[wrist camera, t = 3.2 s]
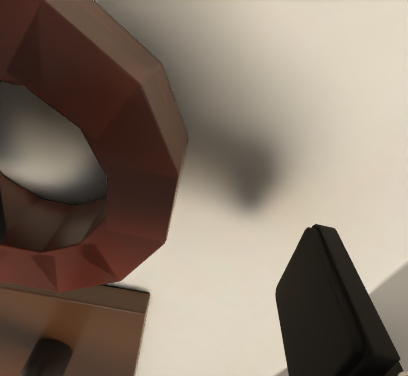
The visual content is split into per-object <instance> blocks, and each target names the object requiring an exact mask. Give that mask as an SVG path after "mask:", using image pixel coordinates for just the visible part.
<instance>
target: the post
mask: <svg viewBox="0 0 408 376" xmlns="http://www.w3.org/2000/svg"><path fill="white" fill-rule="evenodd" d="M149 300H150V294H147V293H142V292H136V291H131V290H126V289H120V288H115V287H109V286H104V285H98V286H93V287H87V288H82V289H77V290H71V291H66V292H61V293H60V292H55V291H49V290H44V289H38V288H33V287H27V286H22V285H16V284H11V283H5V282H0V376H135V374H136V369H137V364H138V358H139V353H140V348H141V342H142V337H143V332H144V326H145V321H146V316H147V310H148V305H149Z"/></svg>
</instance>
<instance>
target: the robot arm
mask: <svg viewBox="0 0 408 376" xmlns="http://www.w3.org/2000/svg"><path fill="white" fill-rule="evenodd" d="M6 232H7V229H6V222H5V215H4V209H3V202H2V196H1V189H0V244H1V243H2V242H3V240H4V238H5V236H6ZM276 303H277V309H278V315H279V320H280V326H281V332H282V338H283V344H284V350H285V355H286V361H287V367H288V373H289V376H408V370H406V371H403V369H402V367H401V365H400V363H399V360H400V357H399V355H398V353H397V351H396V349H395V347H394V345H393V343H392V341H391V339H390V337H389V335H388V333H387V331H386V329H385V327H384V325H383V323H382V321H381V319H380V317H379V315H378V313H377V311H376V309H375V307H374V305H373V303H372V301H371V299H370V297H369V295H368V293H367V291H366V289H365V287H364V285H363V283H362V281H361V279H360V277H359V275H358V273H357V271H356V269H355V267H354V265H353V263H352V261H351V259H350V257H349V255H348V253H347V251H346V249H345V247H344V245H343V243H342V241H341V239H340V237H339V235H338V233H337V231H336V229H334V228H331V227H327V226H322V225H318V224H315V225H313V226H312V228H309V227H308V228H307V229H306V230H305V231H304V233H303V235H302V237H301V239H300V241H299V243H298V245H297V247H296V249H295V251H294V253H293V255H292V257H291V259H290V261H289V263H288V265H287V267H286V269H285V271H284V273H283V275H282V277H281V279H280V281H279V283H278V285H277V288H276Z"/></svg>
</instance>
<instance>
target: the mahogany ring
mask: <svg viewBox="0 0 408 376" xmlns="http://www.w3.org/2000/svg"><path fill="white" fill-rule="evenodd" d="M0 81H3V82H7V83H12V84H16V85H20V86H24V87H26V88H27V89H28V90H30V91H31V92H32V93H34V94H35V95H36V96H38V97H39V98H40V99H42V100H43V101H44V102H46V103H47V104H48V105H50V106H51V107H52V108H54V109H55V110H56V111H58V112H59V113H60V114H62V115H63V116H64V117H66V118H67V119H68V120H70V121H71V122H72V123H74V124H75V125H76V126H78V127H79V128H80V129H81V131H82V133H83V135H84V137H85V138H86V140H87V142H88V144H89V146H90V147H91V149H92V151H93V153H94V155H95V156H96V158H97V160H98V162H99V164H100V165H101V167H102V169H103V171H104V173H105V174H106V176H107V187H106V198H103V199H99V200H95V201H91V202H87V203H83V204H79V205H75V206H74V205H69V204H64V203H59V202H54V201H49V200H44V199H39V198H37V197H36V196H34V195H33V194H31V193H30V192H28V191H26V190H25V189H23V188H22V187H20V186H18V185H17V184H15V183H14V182H12V181H11V180H9V179H7V178H6V177H4V176H3V175H2V174H1V173H0V189H1V196H2V202H3V209H4V215H5V222H6V229H7V232H6V236H5V238H4V240H3V242H2V243H1V244H0V282H5V283H11V284H16V285H22V286H27V287H33V288H38V289H44V290H49V291H55V292H60V293H61V292H66V291H71V290H77V289H82V288H87V287H93V286H98V285H103V284H108V283H114V282H119V281H121V280H123V279H124V278H125V277H126V276H127V275H129V274H130V273H131V272H132V271H133V270H134V269H135V268H137V267H138V266H139V265H140V264H141V263H142V262H144V261H145V260H146V259H147V258H148V257H149V256H151V255H152V254H153V253H154V252H155V251H156V250H158V249H159V248H160V247H161V246H162V245H163V244H165V241H166V240H167V235H168V231H169V227H170V222H171V218H172V214H173V209H174V205H175V201H176V196H177V192H178V187H179V182H180V177H181V172H182V167H183V162H184V157H185V152H186V148H187V143H188V135H187V132H186V129H185V127H184V124H183V121H182V118H181V116H180V113H179V110H178V107H177V105H176V102H175V99H174V97H173V94H172V91H171V88H170V86H169V83H168V80H167V77H166V75H165V72H164V69H163V67H162V64H161V63H160V62H159V61H158V60H157V59H156V58H155V57H154V56H153V55H152V54H151V53H150V52H149V51H148V50H146V49H145V48H144V47H143V46H142V45H141V44H140V43H139V42H138V41H137V40H136V39H135V38H133V37H132V36H131V35H130V34H129V33H128V32H127V31H126V30H125V29H124V28H123V27H122V26H120V25H119V24H118V23H117V22H116V21H115V20H114V19H113V18H112V17H111V16H110V15H109V14H107V13H106V12H105V11H104V10H103V9H102V8H101V7H100V6H99V5H98V4H97V3H96V2H94V1H93V0H0Z"/></svg>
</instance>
